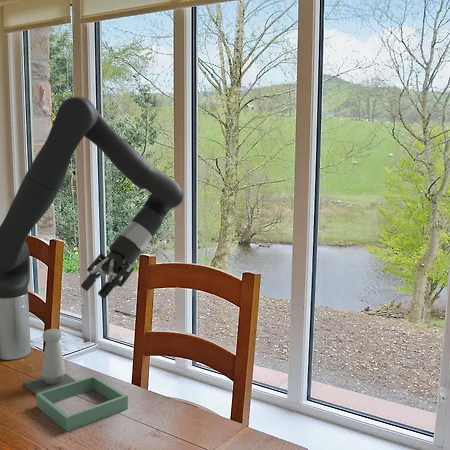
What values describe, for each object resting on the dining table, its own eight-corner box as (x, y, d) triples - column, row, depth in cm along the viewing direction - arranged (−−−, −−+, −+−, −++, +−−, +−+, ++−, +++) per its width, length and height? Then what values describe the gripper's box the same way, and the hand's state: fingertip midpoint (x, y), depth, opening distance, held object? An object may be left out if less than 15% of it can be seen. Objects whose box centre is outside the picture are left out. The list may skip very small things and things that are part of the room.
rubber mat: (23, 384, 134) (23, 382, 134) (61, 373, 141) (61, 371, 141) (41, 399, 127) (41, 396, 127) (80, 386, 134) (80, 383, 134)
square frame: (36, 406, 123) (35, 393, 123) (94, 387, 133) (94, 375, 133) (67, 431, 113) (66, 417, 112) (128, 408, 123) (127, 395, 122)
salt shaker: (36, 383, 134) (33, 331, 132) (53, 374, 139) (51, 324, 137) (54, 388, 131) (51, 335, 129) (71, 379, 136) (69, 328, 134)
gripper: (107, 230, 147) (68, 278, 141) (137, 238, 137) (97, 290, 131) (124, 247, 152) (87, 294, 146) (155, 256, 142) (116, 307, 136)
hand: (92, 292), depth 139 cm, fingers open, 8 cm apart
